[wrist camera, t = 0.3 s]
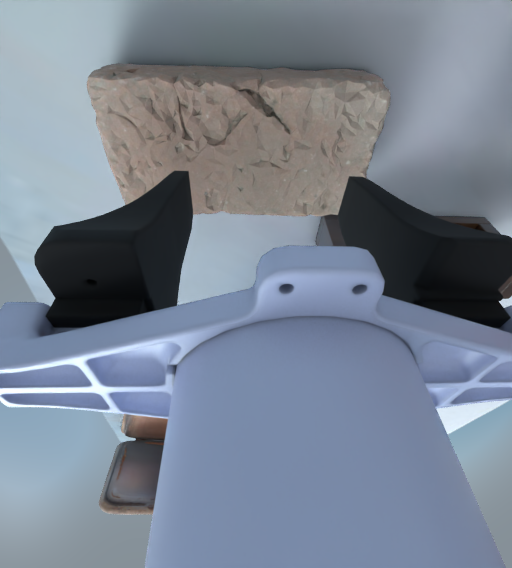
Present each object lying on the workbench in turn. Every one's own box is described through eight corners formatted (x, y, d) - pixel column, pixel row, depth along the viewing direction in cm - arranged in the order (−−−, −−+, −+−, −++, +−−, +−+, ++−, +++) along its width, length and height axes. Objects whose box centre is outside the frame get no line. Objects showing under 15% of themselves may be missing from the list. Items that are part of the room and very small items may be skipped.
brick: (378, 64, 19) (407, 85, 15) (344, 189, 25) (360, 222, 21) (104, 55, 18) (73, 75, 15) (139, 185, 24) (123, 220, 21)
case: (120, 430, 64) (95, 525, 53) (126, 389, 50) (94, 508, 39) (213, 437, 70) (208, 524, 59) (241, 402, 56) (242, 509, 45)
